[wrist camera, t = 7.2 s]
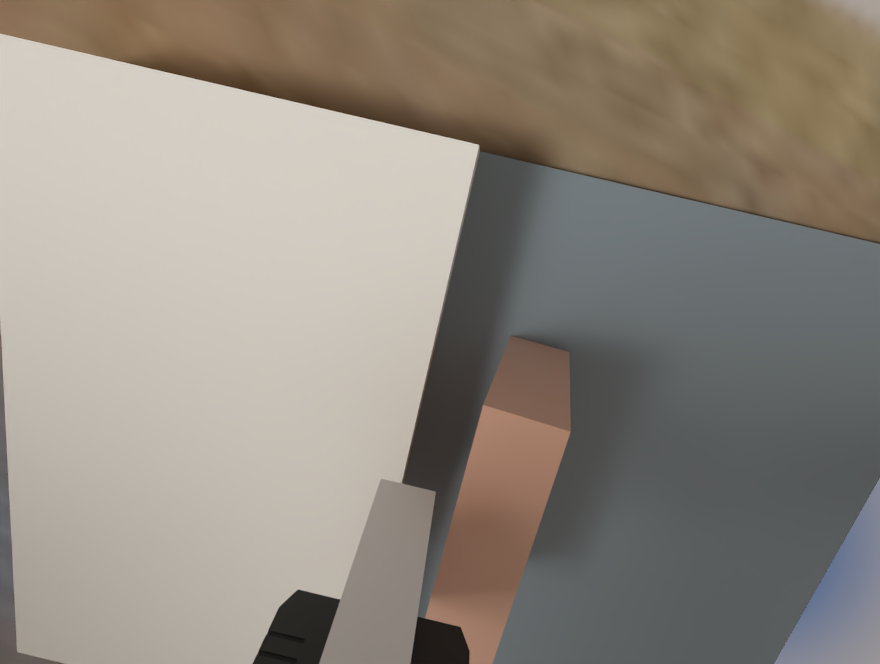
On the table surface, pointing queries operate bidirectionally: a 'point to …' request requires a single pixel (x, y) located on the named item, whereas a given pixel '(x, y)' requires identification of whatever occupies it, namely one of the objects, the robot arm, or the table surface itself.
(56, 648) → the plate
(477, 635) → the tile
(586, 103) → the table surface
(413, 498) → the robot arm
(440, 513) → the mat
